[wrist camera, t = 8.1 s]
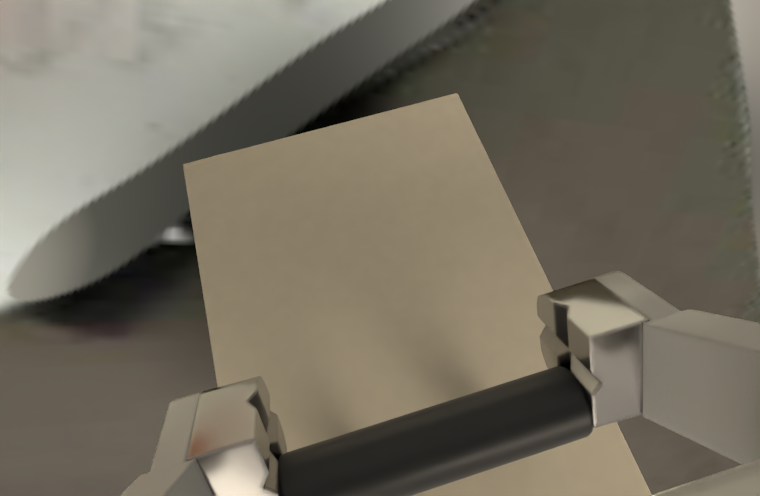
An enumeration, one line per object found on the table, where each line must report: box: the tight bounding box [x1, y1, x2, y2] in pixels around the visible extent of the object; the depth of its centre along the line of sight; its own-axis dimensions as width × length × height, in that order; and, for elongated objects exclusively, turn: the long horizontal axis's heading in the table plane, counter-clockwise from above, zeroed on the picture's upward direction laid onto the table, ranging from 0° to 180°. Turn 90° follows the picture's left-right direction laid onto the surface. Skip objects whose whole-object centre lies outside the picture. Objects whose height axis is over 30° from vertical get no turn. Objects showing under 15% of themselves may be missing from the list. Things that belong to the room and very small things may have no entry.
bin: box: [183, 93, 651, 496], centre depth 14 cm, size 11×8×11 cm
